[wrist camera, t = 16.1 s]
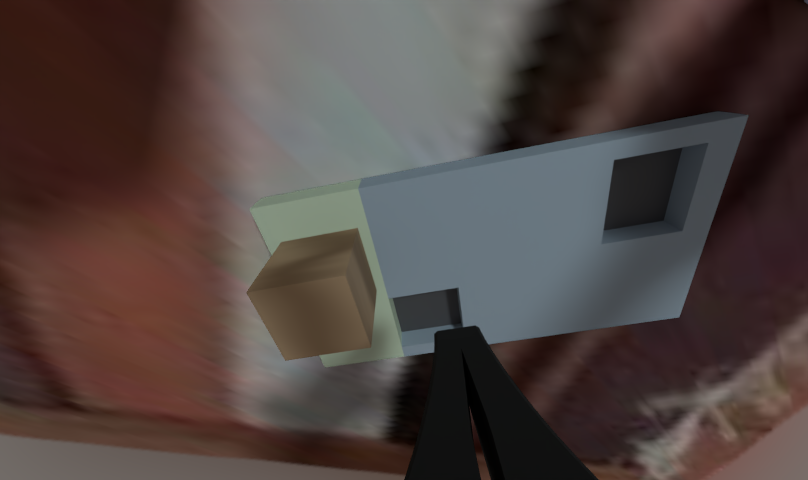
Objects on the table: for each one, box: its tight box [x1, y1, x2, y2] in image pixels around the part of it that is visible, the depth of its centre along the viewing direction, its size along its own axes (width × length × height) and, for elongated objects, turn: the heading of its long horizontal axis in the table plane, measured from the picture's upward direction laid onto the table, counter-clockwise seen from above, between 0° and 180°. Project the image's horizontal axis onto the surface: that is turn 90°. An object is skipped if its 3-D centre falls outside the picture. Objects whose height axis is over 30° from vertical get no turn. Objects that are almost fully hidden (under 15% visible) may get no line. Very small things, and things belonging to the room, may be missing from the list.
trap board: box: [250, 111, 749, 368], centre depth 19 cm, size 25×13×2 cm, turn 101°
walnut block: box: [246, 228, 377, 361], centre depth 16 cm, size 4×4×4 cm
